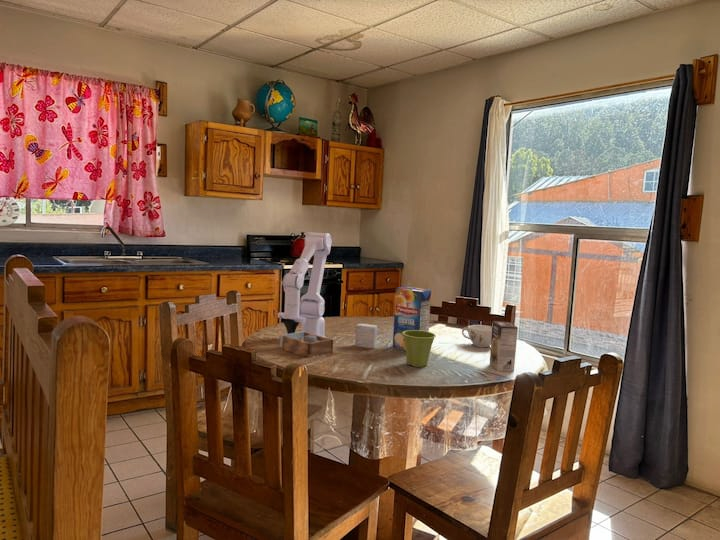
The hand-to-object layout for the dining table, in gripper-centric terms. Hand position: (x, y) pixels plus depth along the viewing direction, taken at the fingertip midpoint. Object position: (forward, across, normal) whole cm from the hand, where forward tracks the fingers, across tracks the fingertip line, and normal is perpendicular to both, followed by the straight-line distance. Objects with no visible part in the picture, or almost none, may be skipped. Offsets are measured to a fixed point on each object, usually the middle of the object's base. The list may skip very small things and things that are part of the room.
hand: (290, 338), depth 214 cm
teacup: (+3, +46, +63) cm, 79 cm away
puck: (+1, +11, 0) cm, 11 cm away
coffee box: (+3, +70, +39) cm, 80 cm away
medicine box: (+3, +19, +23) cm, 30 cm away
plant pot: (+3, +48, +18) cm, 51 cm away
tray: (+2, +8, 0) cm, 8 cm away
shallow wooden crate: (+3, +9, 0) cm, 9 cm away
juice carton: (+3, +32, +35) cm, 47 cm away
